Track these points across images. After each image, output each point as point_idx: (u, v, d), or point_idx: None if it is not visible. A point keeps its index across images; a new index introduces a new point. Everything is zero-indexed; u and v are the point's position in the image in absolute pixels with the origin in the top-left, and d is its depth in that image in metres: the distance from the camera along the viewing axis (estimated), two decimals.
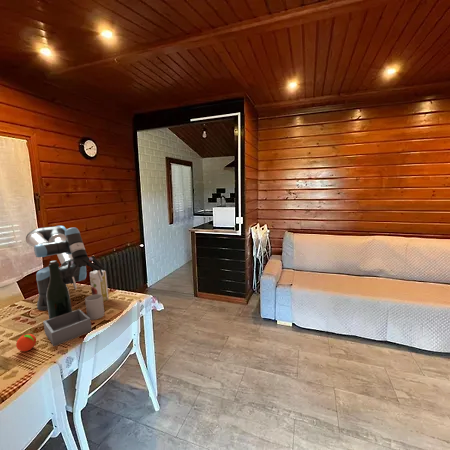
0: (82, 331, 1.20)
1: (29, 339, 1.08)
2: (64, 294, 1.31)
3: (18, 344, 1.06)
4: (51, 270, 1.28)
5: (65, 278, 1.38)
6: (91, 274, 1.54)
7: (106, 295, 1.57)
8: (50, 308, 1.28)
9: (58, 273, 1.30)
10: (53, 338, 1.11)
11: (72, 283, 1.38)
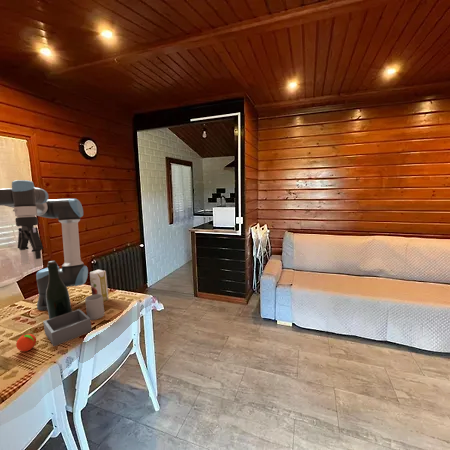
0: (82, 331, 1.20)
1: (29, 339, 1.08)
2: (64, 294, 1.31)
3: (18, 344, 1.06)
4: (50, 270, 1.28)
5: None
6: (91, 274, 1.54)
7: (106, 295, 1.57)
8: (50, 308, 1.28)
9: (57, 273, 1.30)
10: (53, 338, 1.11)
11: None
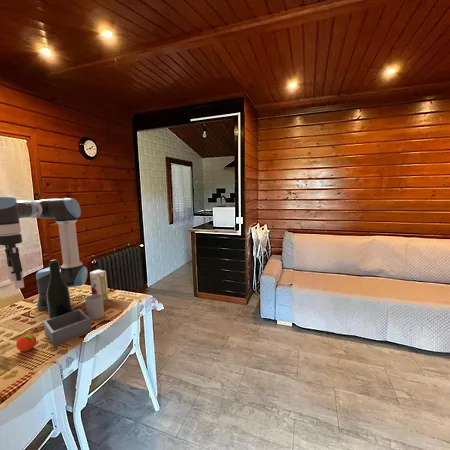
0: (82, 331, 1.20)
1: (29, 339, 1.08)
2: (65, 292, 1.32)
3: (18, 344, 1.06)
4: (51, 269, 1.30)
5: None
6: (91, 274, 1.54)
7: (106, 295, 1.57)
8: (50, 307, 1.29)
9: (58, 272, 1.32)
10: (53, 338, 1.11)
11: None
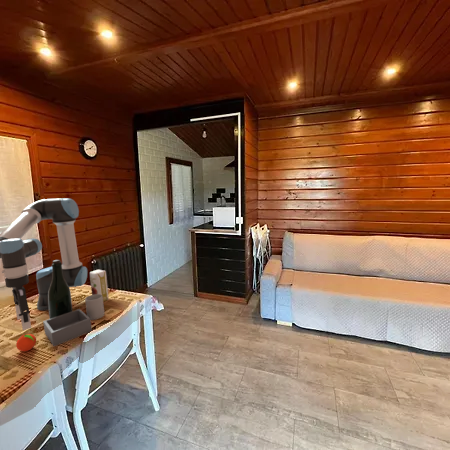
0: (82, 331, 1.20)
1: (29, 339, 1.08)
2: (66, 293, 1.31)
3: (18, 344, 1.06)
4: (54, 269, 1.29)
5: None
6: (91, 274, 1.54)
7: (106, 295, 1.57)
8: (51, 307, 1.28)
9: (61, 272, 1.31)
10: (53, 338, 1.11)
11: None
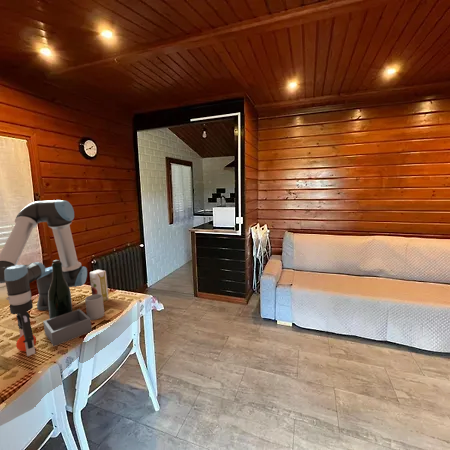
0: (82, 331, 1.20)
1: None
2: (67, 293, 1.31)
3: (18, 344, 1.06)
4: (54, 269, 1.29)
5: None
6: (91, 274, 1.54)
7: (106, 295, 1.57)
8: (52, 307, 1.28)
9: (61, 272, 1.31)
10: (53, 338, 1.11)
11: None
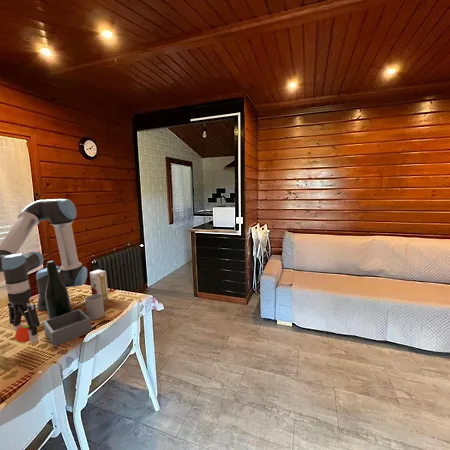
0: (82, 331, 1.20)
1: None
2: (64, 293, 1.31)
3: (20, 335, 1.06)
4: (49, 270, 1.28)
5: None
6: (91, 274, 1.54)
7: (106, 295, 1.57)
8: (50, 308, 1.28)
9: (56, 273, 1.30)
10: (53, 338, 1.11)
11: None
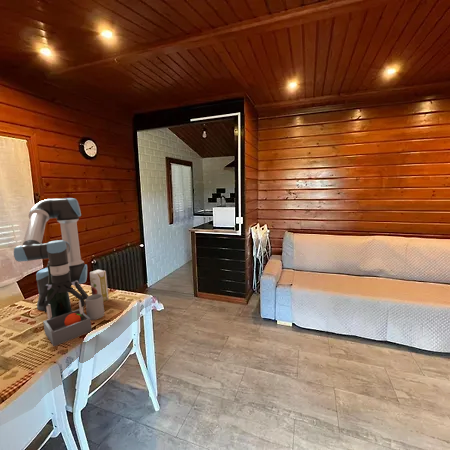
0: (82, 331, 1.20)
1: (80, 317, 1.25)
2: (65, 293, 1.31)
3: (75, 320, 1.21)
4: None
5: None
6: (91, 274, 1.54)
7: (106, 295, 1.57)
8: (51, 308, 1.28)
9: None
10: (53, 338, 1.11)
11: None
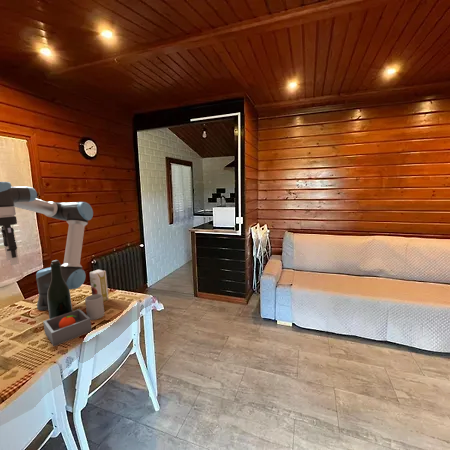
0: (82, 331, 1.20)
1: None
2: (67, 293, 1.32)
3: (68, 323, 1.20)
4: (53, 269, 1.29)
5: None
6: (91, 274, 1.54)
7: (106, 295, 1.57)
8: (52, 307, 1.28)
9: (60, 272, 1.31)
10: (53, 338, 1.11)
11: None
